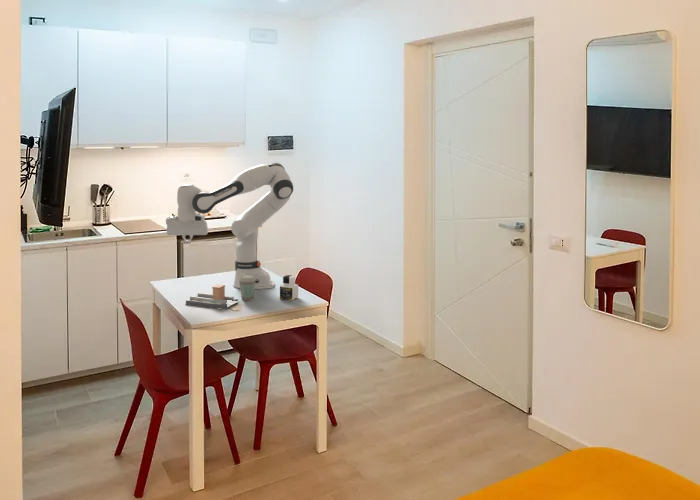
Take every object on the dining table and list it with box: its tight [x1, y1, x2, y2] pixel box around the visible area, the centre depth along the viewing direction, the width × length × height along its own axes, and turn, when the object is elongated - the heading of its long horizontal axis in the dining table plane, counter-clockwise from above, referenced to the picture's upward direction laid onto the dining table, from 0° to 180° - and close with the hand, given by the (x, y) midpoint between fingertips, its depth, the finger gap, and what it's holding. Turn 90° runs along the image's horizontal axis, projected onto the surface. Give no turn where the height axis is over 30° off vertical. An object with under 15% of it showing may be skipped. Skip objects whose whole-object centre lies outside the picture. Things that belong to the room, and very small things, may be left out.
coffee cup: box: [239, 275, 256, 301], centre depth 315 cm, size 8×8×12 cm
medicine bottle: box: [279, 274, 299, 301], centre depth 318 cm, size 7×7×12 cm
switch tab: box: [211, 283, 226, 300], centre depth 306 cm, size 4×5×7 cm
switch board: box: [185, 292, 239, 310], centre depth 308 cm, size 22×12×4 cm, turn 70°
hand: (187, 243), depth 317 cm, fingers closed
